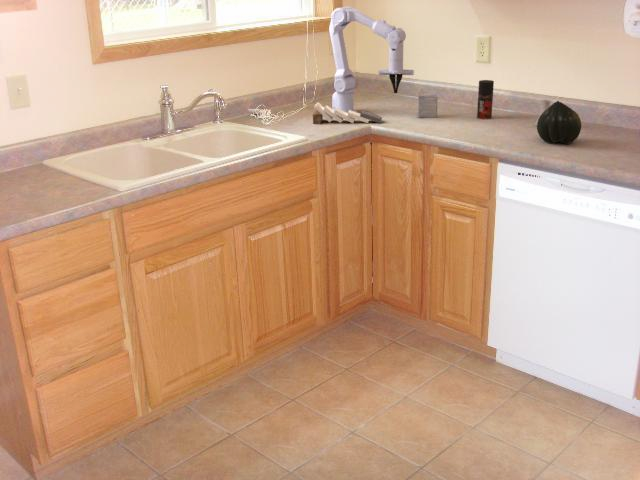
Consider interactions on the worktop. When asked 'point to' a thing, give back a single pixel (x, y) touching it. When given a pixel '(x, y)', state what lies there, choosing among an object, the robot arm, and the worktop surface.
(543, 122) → the squash
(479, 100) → the deodorant
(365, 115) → the domino
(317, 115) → the block
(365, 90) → the worktop surface
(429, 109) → the medicine box
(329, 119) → the domino
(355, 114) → the domino
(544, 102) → the flask
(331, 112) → the domino
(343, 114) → the domino
